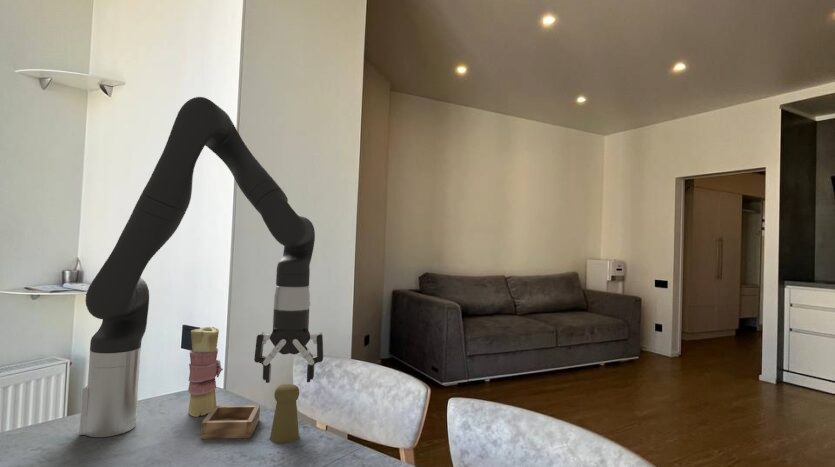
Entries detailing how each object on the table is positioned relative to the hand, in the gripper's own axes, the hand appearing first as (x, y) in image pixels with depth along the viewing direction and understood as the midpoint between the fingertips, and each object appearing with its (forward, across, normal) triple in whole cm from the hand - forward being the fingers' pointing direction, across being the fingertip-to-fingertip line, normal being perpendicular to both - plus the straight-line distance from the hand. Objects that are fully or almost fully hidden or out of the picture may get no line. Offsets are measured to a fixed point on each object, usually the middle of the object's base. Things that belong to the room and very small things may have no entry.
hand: (288, 381), depth 97 cm
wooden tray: (+12, -12, +5) cm, 18 cm away
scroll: (+12, -21, +16) cm, 29 cm away
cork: (+12, 0, 0) cm, 12 cm away
